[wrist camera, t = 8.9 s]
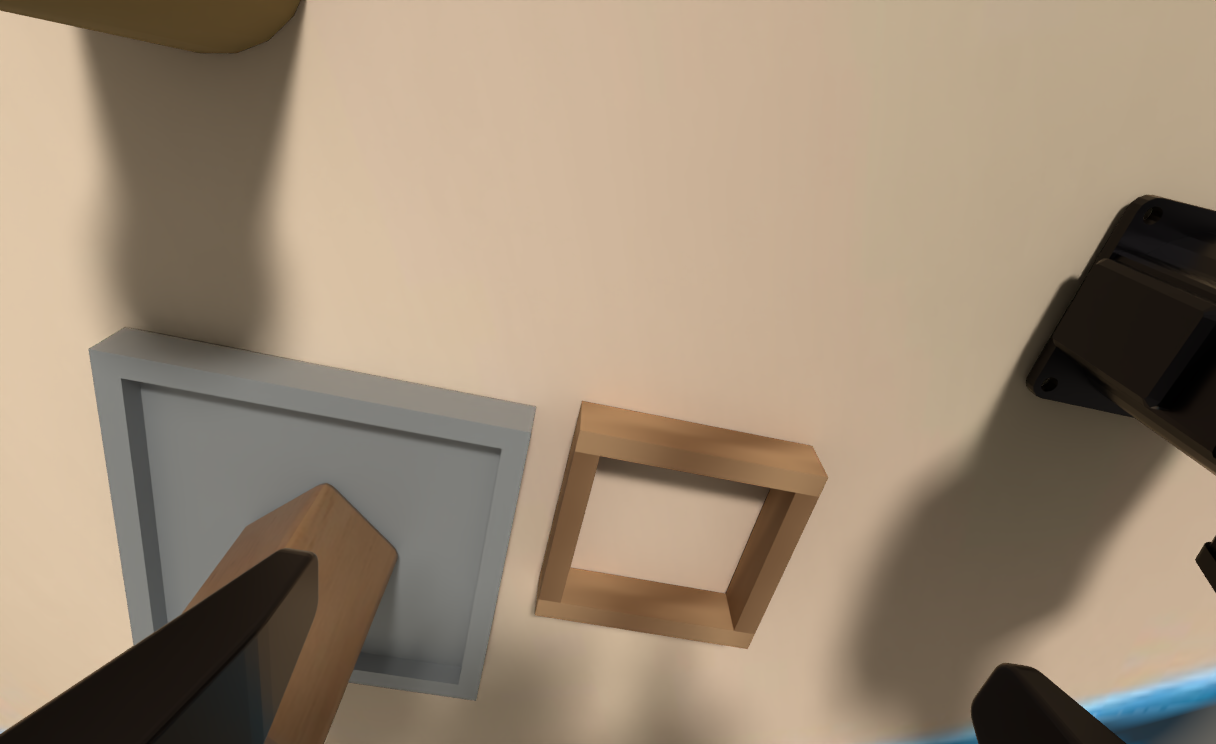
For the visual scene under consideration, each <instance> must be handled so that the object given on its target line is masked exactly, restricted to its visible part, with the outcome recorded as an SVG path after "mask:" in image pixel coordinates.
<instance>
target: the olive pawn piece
mask: <svg viewBox="0 0 1216 744" xmlns="http://www.w3.org/2000/svg"><path fill="white" fill-rule="evenodd" d="M299 2H300V0H0V10H1V11H5V12H10V13H15V14H19V15H24V16H29V17H33V18H38V19H43V20H47V21H52V22H57V23H61V24H66V25H71V26H75V27H80V28H85V29H89V30H94V31H99V32H103V33H108V34H113V35H117V36H122V37H127V38H131V39H136V40H141V41H145V42H150V43H155V44H159V45H164V46H169V47H173V48H178V49H183V50H187V51H192V52H197V53H238V52H240V51H243V50H245V49H248V48H251V47H253V46H256V45H258V44H261V43H263V42H266V41H268V40H269V39H270V38H271V37H272V36H273V35H275V34H276V33H277V32H278V31H279V30H280V29H281V28H282V27H283V26H284V25H285V24H286V23H287V22H288V21H289V20H290V19H291V18H292V17H293V16H294V14H295V11H296V9H297V7H298V5H299Z"/></svg>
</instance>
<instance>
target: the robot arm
mask: <svg viewBox="0 0 1216 744" xmlns="http://www.w3.org/2000/svg"><path fill="white" fill-rule="evenodd" d="M1150 208H1152V212H1151V214H1150V215H1149V217H1148V218H1147V219H1145V220H1143V217H1144V214H1145V213H1146V212H1147V211H1148V209H1150ZM1048 378H1050V380H1049V381H1048V382H1047V383H1046V384H1044V385H1042V383H1043V382H1044V381H1045V380H1046V379H1048ZM1041 385H1042V386H1041ZM1026 386H1027V387H1028V389H1029V390H1030V391H1031V392H1033V393H1034V394H1035V395H1036V396H1038V397H1040V398H1044V399H1049V400H1053V401H1058V402H1063V403H1067V404H1072V405H1077V406H1081V407H1086V408H1091V409H1096V410H1100V411H1105V412H1110V413H1114V414H1119V415H1124V416H1129V417H1133V418H1136V419H1137V420H1139V421H1140V422H1142V423H1143V424H1144V425H1146V426H1147V427H1148V428H1150V429H1151V430H1153V431H1154V432H1155V433H1157V434H1158V435H1160V436H1161V437H1162V438H1164V439H1165V440H1167V441H1168V442H1169V443H1171V444H1172V445H1174V446H1175V447H1176V448H1178V449H1179V450H1181V451H1182V452H1183V453H1185V454H1186V455H1188V456H1189V457H1190V458H1192V459H1193V460H1195V461H1196V462H1197V463H1199V464H1200V465H1202V466H1203V467H1204V468H1206V469H1207V470H1209V471H1210V472H1211V473H1213V474H1214V475H1216V211H1214V210H1210V209H1206V208H1202V207H1198V206H1194V205H1190V204H1186V203H1183V202H1179V201H1175V200H1171V199H1167V198H1163V197H1159V196H1155V195H1144V196H1141V197H1138V198H1137V199H1136V200H1134V201H1133V202H1132V203H1131V204H1130V205H1129V206H1128V208H1127V209H1126V211H1125V212H1124V214H1123V216H1122V217H1121V219H1120V221H1119V222H1118V224H1117V226H1116V228H1115V229H1114V231H1113V233H1112V234H1111V236H1110V238H1109V239H1108V241H1107V243H1106V244H1105V246H1104V248H1103V250H1102V251H1101V253H1100V255H1099V256H1098V258H1097V260H1096V261H1095V263H1094V265H1093V266H1092V268H1091V270H1090V272H1089V273H1088V275H1087V277H1086V278H1085V280H1084V282H1083V283H1082V285H1081V287H1080V288H1079V290H1078V292H1077V294H1076V295H1075V297H1074V299H1073V300H1072V302H1071V304H1070V305H1069V307H1068V309H1067V311H1066V312H1065V314H1064V316H1063V317H1062V319H1061V321H1060V322H1059V324H1058V326H1057V327H1056V329H1055V331H1054V333H1053V334H1052V336H1051V338H1050V339H1049V341H1048V343H1047V344H1046V346H1045V348H1044V349H1043V351H1042V353H1041V355H1040V356H1039V358H1038V360H1037V361H1036V363H1035V365H1034V366H1033V368H1032V370H1031V371H1030V373H1029V375H1028V377H1027V380H1026ZM1195 560H1196V563H1197V564H1198V566H1199V567H1200V569H1201V571H1202V572H1203V574H1204V575H1205V577H1206V578H1207V580H1208V581H1209V583H1210V585H1211V586H1212V588H1213V589H1214V591H1215V592H1216V536H1215V537H1214V539H1213V540H1212V542H1206V543H1205V544H1204V546H1203V547H1202V549H1201V551H1200V552H1199V554H1198V556H1197V557H1196V559H1195ZM317 606H318V558H317V555H316V554H315V553H313V552H310V551H304V550H297V549H291V548H283V549H280V550H278V551H276V552H274V553H273V554H271V555H270V556H268V557H267V558H265V559H264V560H262V561H261V562H259V563H258V564H256V565H255V566H253V567H252V568H250V569H249V570H247V571H246V572H244V573H243V574H241V575H240V576H238V577H237V578H235V579H234V580H232V581H231V582H229V583H228V584H226V585H224V586H223V587H221V588H220V589H218V590H217V591H215V592H214V593H212V594H211V595H209V596H208V597H206V598H205V599H203V600H202V601H200V602H199V603H197V604H196V605H194V606H193V607H191V608H190V609H188V610H187V611H185V612H184V613H182V614H181V615H179V616H178V617H176V618H175V619H173V620H172V621H170V622H169V623H167V624H166V625H164V626H163V627H161V628H160V629H158V630H157V631H155V632H154V633H152V634H151V635H149V636H148V637H146V638H145V639H143V640H142V641H140V642H139V643H137V644H136V645H134V646H132V647H131V648H129V649H128V650H126V651H125V652H123V653H122V654H120V655H119V656H117V657H116V658H114V659H113V660H111V661H110V662H108V663H107V664H105V665H104V666H102V667H101V668H99V669H98V670H96V671H95V672H93V673H92V674H90V675H89V676H87V677H86V678H84V679H83V680H81V681H80V682H78V683H77V684H75V685H74V686H72V687H71V688H69V689H68V690H66V691H65V692H63V693H62V694H60V695H59V696H57V697H56V698H54V699H53V700H51V701H50V702H48V703H47V704H45V705H44V706H42V707H40V708H39V709H37V710H36V711H34V712H33V713H31V714H30V715H28V716H27V717H25V718H24V719H22V720H21V721H19V722H18V723H16V724H15V725H13V726H12V727H10V728H9V729H7V730H6V731H4V732H3V733H1V734H0V744H264V742H265V740H266V737H267V735H268V732H269V730H270V728H271V725H272V723H273V720H274V718H275V715H276V713H277V710H278V708H279V705H280V703H281V700H282V698H283V695H284V693H285V690H286V688H287V685H288V683H289V680H290V678H291V675H292V673H293V670H294V668H295V665H296V663H297V660H298V658H299V655H300V653H301V650H302V648H303V645H304V643H305V640H306V638H307V635H308V633H309V630H310V628H311V625H312V623H313V620H314V617H315V614H316V611H317ZM971 718H972V723H973V726H974V730H975V733H976V737H977V741H978V744H1126V743H1125V742H1124V741H1123V740H1121V739H1120V738H1119V737H1118V736H1117V735H1115V734H1114V733H1113V732H1112V731H1110V730H1109V729H1108V728H1107V727H1106V726H1105V725H1103V724H1102V723H1101V722H1100V721H1099V720H1097V719H1096V718H1095V717H1094V716H1093V715H1091V714H1090V713H1089V712H1088V711H1087V710H1085V709H1084V708H1083V707H1082V706H1081V705H1079V704H1078V703H1077V702H1076V701H1075V700H1073V699H1072V698H1071V697H1070V696H1069V695H1067V694H1066V693H1065V692H1064V691H1063V690H1061V689H1060V688H1059V687H1058V686H1057V685H1055V684H1054V683H1053V682H1052V681H1051V680H1049V679H1048V678H1047V677H1046V676H1045V675H1043V674H1042V673H1041V672H1040V671H1038V670H1036V669H1035V668H1032V667H1029V666H1023V665H1017V664H1011V663H1002V664H1000V665H998V666H997V667H996V668H995V669H994V671H993V672H992V674H991V675H990V676H989V678H988V679H987V681H986V682H985V683H984V685H983V686H982V688H981V689H980V691H979V692H978V693H977V695H976V696H975V698H974V700H973V702H972V705H971Z"/></svg>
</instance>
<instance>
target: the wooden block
mask: <svg viewBox="0 0 1216 744" xmlns="http://www.w3.org/2000/svg"><path fill="white" fill-rule="evenodd" d="M283 548H291V549H297V550H304V551H310V552H313V553H315V554H316V555H317V558H318V606H317V611H316V614H315V617H314V620H313V623H312V625H311V628H310V630H309V633H308V635H307V638H306V640H305V643H304V645H303V648H302V650H301V653H300V655H299V658H298V660H297V663H296V665H295V668H294V670H293V673H292V675H291V678H290V680H289V683H288V685H287V688H286V690H285V693H284V695H283V698H282V700H281V703H280V705H279V708H278V710H277V713H276V715H275V718H274V720H273V723H272V725H271V728H270V730H269V732H268V735H267V737H266V740H265V742H264V744H324V742H325V739H326V737H327V734H328V732H329V729H330V727H331V724H332V722H333V719H334V717H335V714H336V712H337V709H338V707H339V704H340V702H341V699H342V697H343V694H344V692H345V689H346V687H347V684H348V682H349V679H350V677H351V674H352V672H353V669H354V667H355V664H356V662H357V659H358V657H359V654H360V652H361V649H362V647H363V644H364V642H365V639H366V637H367V634H368V632H369V629H370V627H371V624H372V622H373V619H374V617H375V614H376V612H377V609H378V607H379V604H380V602H381V599H382V597H383V594H384V592H385V589H386V587H387V584H388V582H389V579H390V577H391V574H392V572H393V569H394V567H395V564H396V562H397V559H398V553H397V551H396V549H395V547H394V546H393V545H392V544H391V543H390V542H389V541H388V540H387V539H386V538H385V537H384V536H383V535H382V534H381V533H380V532H379V531H378V530H377V529H376V528H375V527H374V526H373V525H372V524H371V523H370V522H369V521H368V520H367V519H366V518H365V517H364V516H363V515H362V514H361V513H360V512H359V511H358V510H357V509H356V508H355V507H354V506H353V505H352V504H351V503H350V502H349V501H348V500H347V499H346V498H345V497H344V496H343V495H342V494H341V493H340V492H339V491H338V490H336V489H335V488H334V487H333V486H332V485H330V484H328V483H324V484H320V485H318V486H316V487H314V488H312V489H310V490H309V491H307V492H305V493H303V494H302V495H300V496H298V497H296V498H295V499H293V500H291V501H289V502H288V503H286V504H284V505H282V506H281V507H279V508H277V509H275V510H274V511H272V512H270V513H268V514H267V515H265V516H263V517H261V518H260V519H258V520H256V521H254V522H253V523H251V524H249V525H247V526H246V527H245V528H244V530H243V531H242V532H241V534H240V535H239V537H238V538H237V539H236V541H235V542H234V543H233V545H232V546H231V547H230V549H229V550H228V551H227V553H226V554H225V556H224V557H223V558H222V560H221V561H220V562H219V564H218V565H217V566H216V568H215V569H214V570H213V572H212V573H211V575H210V576H209V577H208V579H207V580H206V581H205V583H204V584H203V585H202V587H201V588H200V589H199V591H198V592H197V594H196V595H195V596H194V598H193V599H192V600H191V602H190V603H189V604H188V606H187V607H186V608H185V610H184V611H183V612H182V613H184V612H185V611H187V610H188V609H190V608H191V607H193V606H194V605H196V604H197V603H199V602H200V601H202V600H203V599H205V598H206V597H208V596H209V595H211V594H212V593H214V592H215V591H217V590H218V589H220V588H221V587H223V586H224V585H226V584H228V583H229V582H231V581H232V580H234V579H235V578H237V577H238V576H240V575H241V574H243V573H244V572H246V571H247V570H249V569H250V568H252V567H253V566H255V565H256V564H258V563H259V562H261V561H262V560H264V559H265V558H267V557H268V556H270V555H271V554H273V553H274V552H276V551H278V550H280V549H283Z"/></svg>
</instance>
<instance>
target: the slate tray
mask: <svg viewBox="0 0 1216 744" xmlns="http://www.w3.org/2000/svg"><path fill="white" fill-rule="evenodd" d="M89 355H90V362H91V368H92V375H93V381H94V388H95V395H96V401H97V408H98V414H99V421H100V427H101V434H102V441H103V447H104V454H105V460H106V467H107V473H108V480H109V487H110V493H111V500H112V506H113V513H114V519H115V526H116V533H117V539H118V546H119V552H120V559H121V565H122V572H123V579H124V585H125V592H126V598H127V605H128V611H129V618H130V624H131V631H132V638H133V644H134V645H136V644H137V643H139V642H140V641H142V640H143V639H145V638H146V637H148V636H149V635H151V634H152V633H154V632H155V631H157V630H158V629H160V628H161V627H163V626H164V625H166V624H167V623H169V622H170V621H172V620H173V619H175V618H176V617H178V616H179V615H181V614H182V612H183V611H184V610H185V608H186V607H187V606H188V604H189V603H190V602H191V600H192V599H193V598H194V596H195V595H196V594H197V592H198V591H199V589H200V588H201V587H202V585H203V584H204V583H205V581H206V580H207V579H208V577H209V576H210V575H211V573H212V572H213V570H214V569H215V568H216V566H217V565H218V564H219V562H220V561H221V560H222V558H223V557H224V556H225V554H226V553H227V551H228V550H229V549H230V547H231V546H232V545H233V543H234V542H235V541H236V539H237V538H238V537H239V535H240V534H241V532H242V531H243V530H244V528H245V527H246V526H247V525H249V524H251V523H253V522H254V521H256V520H258V519H260V518H261V517H263V516H265V515H267V514H268V513H270V512H272V511H274V510H275V509H277V508H279V507H281V506H282V505H284V504H286V503H288V502H289V501H291V500H293V499H295V498H296V497H298V496H300V495H302V494H303V493H305V492H307V491H309V490H310V489H312V488H314V487H316V486H318V485H320V484H324V483H328V484H330V485H332V486H333V487H334V488H335V489H336V490H338V491H339V492H340V493H341V494H342V495H343V496H344V497H345V498H346V499H347V500H348V501H349V502H350V503H351V504H352V505H353V506H354V507H355V508H356V509H357V510H358V511H359V512H360V513H361V514H362V515H363V516H364V517H365V518H366V519H367V520H368V521H369V522H370V523H371V524H372V525H373V526H374V527H375V528H376V529H377V530H378V531H379V532H380V533H381V534H382V535H383V536H384V537H385V538H386V539H387V540H388V541H389V542H390V543H391V544H392V545H393V546H394V547H395V549H396V551H397V553H398V559H397V562H396V564H395V567H394V569H393V572H392V574H391V577H390V579H389V582H388V584H387V587H386V589H385V592H384V594H383V597H382V599H381V602H380V604H379V607H378V609H377V612H376V614H375V617H374V619H373V622H372V624H371V627H370V629H369V632H368V634H367V637H366V639H365V642H364V644H363V647H362V649H361V652H360V654H359V657H358V659H357V662H356V664H355V667H354V669H353V672H352V674H351V677H350V679H349V683H356V684H363V685H370V686H377V687H384V688H391V689H397V690H404V691H411V692H418V693H425V694H432V695H439V696H446V697H453V698H460V699H467V700H474V701H476V699H477V694H478V689H479V684H480V679H481V674H482V670H483V665H484V660H485V655H486V650H487V645H488V640H489V635H490V631H491V626H492V621H493V616H494V611H495V606H496V601H497V596H498V592H499V587H500V582H501V577H502V572H503V567H504V562H505V558H506V553H507V548H508V543H509V538H510V533H511V528H512V523H513V519H514V514H515V509H516V504H517V499H518V494H519V489H520V485H521V480H522V475H523V470H524V465H525V460H526V455H527V450H528V446H529V441H530V436H531V431H532V426H533V420H534V415H535V410H536V407H535V406H530V405H525V404H520V403H515V402H509V401H504V400H499V399H494V398H489V397H484V396H478V395H473V394H468V393H463V392H458V391H453V390H447V389H442V388H437V387H432V386H427V385H422V384H416V383H411V382H406V381H401V380H396V379H390V378H385V377H380V376H375V375H370V374H365V373H359V372H354V371H349V370H344V369H339V368H334V367H328V366H323V365H318V364H313V363H308V362H303V361H297V360H292V359H287V358H282V357H277V356H272V355H266V354H261V353H256V352H251V351H246V350H240V349H235V348H230V347H225V346H220V345H215V344H209V343H204V342H199V341H194V340H189V339H184V338H178V337H173V336H168V335H163V334H158V333H153V332H147V331H142V330H137V329H132V328H127V327H124V328H123V329H121V330H119V331H118V332H116V333H114V334H113V335H111V336H109V337H108V338H106V339H104V340H103V341H101V342H99V343H98V344H96V345H94V346H93V347H91V348H89Z"/></svg>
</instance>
